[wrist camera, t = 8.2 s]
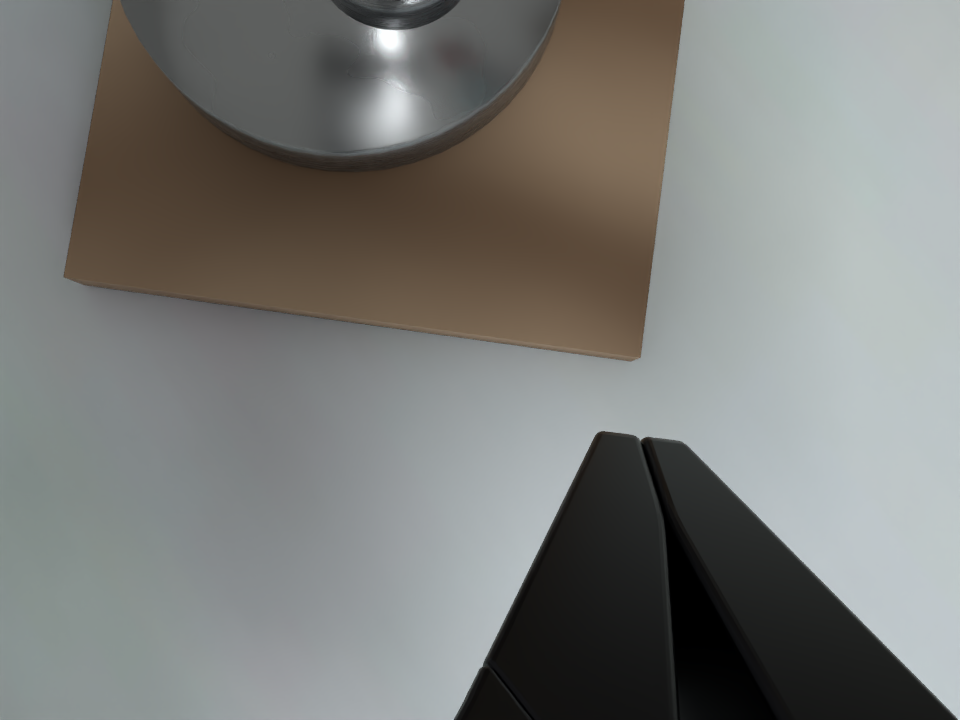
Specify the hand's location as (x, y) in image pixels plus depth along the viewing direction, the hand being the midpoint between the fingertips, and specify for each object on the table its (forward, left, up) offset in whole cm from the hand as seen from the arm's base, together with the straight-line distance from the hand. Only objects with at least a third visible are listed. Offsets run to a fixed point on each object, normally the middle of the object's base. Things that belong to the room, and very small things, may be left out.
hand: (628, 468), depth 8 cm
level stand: (+7, +9, -10) cm, 16 cm away
